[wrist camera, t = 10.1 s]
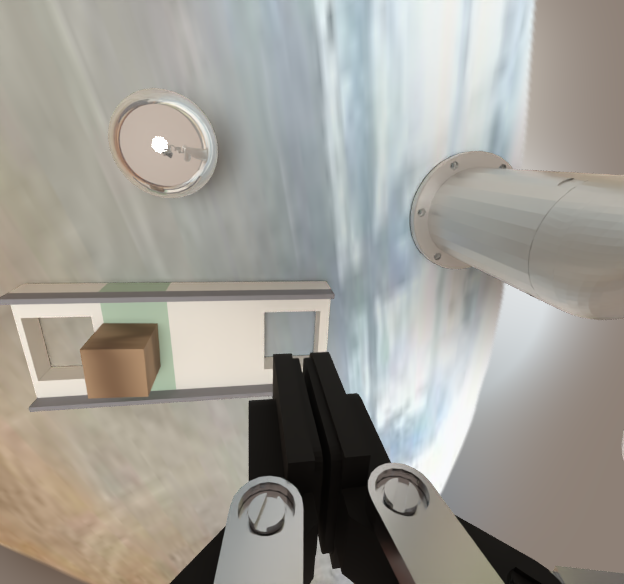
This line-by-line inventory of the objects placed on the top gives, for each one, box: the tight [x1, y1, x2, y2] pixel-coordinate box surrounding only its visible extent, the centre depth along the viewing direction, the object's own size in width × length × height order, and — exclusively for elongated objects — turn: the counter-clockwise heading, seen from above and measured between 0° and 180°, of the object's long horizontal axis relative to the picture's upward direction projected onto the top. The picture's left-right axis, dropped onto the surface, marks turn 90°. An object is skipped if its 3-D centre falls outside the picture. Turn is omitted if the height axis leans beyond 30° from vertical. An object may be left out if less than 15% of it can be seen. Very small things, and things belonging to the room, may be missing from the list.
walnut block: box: [80, 323, 161, 399], centre depth 33 cm, size 5×5×5 cm
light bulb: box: [108, 88, 218, 198], centre depth 26 cm, size 7×7×12 cm
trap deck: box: [0, 281, 334, 412], centre depth 36 cm, size 30×12×4 cm, turn 88°
